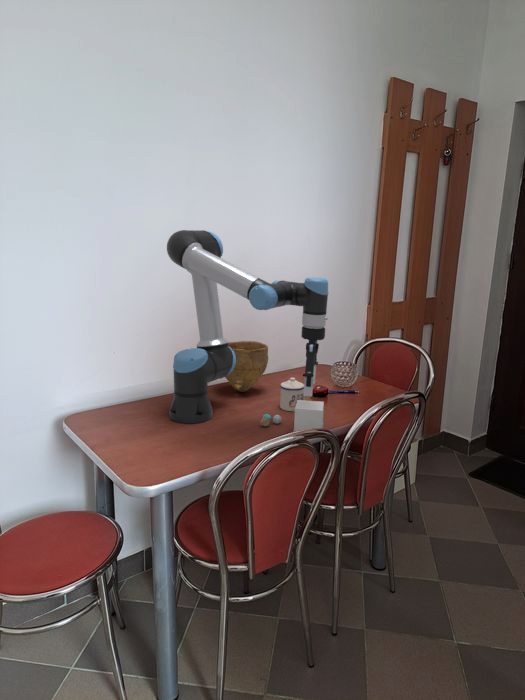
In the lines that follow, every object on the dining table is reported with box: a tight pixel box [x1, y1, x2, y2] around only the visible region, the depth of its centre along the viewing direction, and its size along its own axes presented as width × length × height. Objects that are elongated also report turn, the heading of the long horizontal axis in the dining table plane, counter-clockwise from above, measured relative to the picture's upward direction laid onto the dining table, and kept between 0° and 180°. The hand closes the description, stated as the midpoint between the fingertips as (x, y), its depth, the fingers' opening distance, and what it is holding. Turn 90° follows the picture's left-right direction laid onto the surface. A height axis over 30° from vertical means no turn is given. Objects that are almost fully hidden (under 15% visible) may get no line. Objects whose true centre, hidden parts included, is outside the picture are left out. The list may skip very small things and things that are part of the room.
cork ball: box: [260, 417, 271, 427], centre depth 171 cm, size 3×3×3 cm
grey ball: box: [272, 414, 282, 424], centre depth 174 cm, size 3×3×3 cm
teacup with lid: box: [279, 377, 307, 412], centre depth 190 cm, size 12×9×12 cm
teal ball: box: [262, 413, 272, 422], centre depth 175 cm, size 3×3×3 cm
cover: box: [293, 399, 325, 431], centre depth 169 cm, size 9×9×8 cm
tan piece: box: [224, 340, 269, 393], centre depth 206 cm, size 21×20×20 cm
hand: (309, 389), depth 167 cm, fingers open, 13 cm apart
